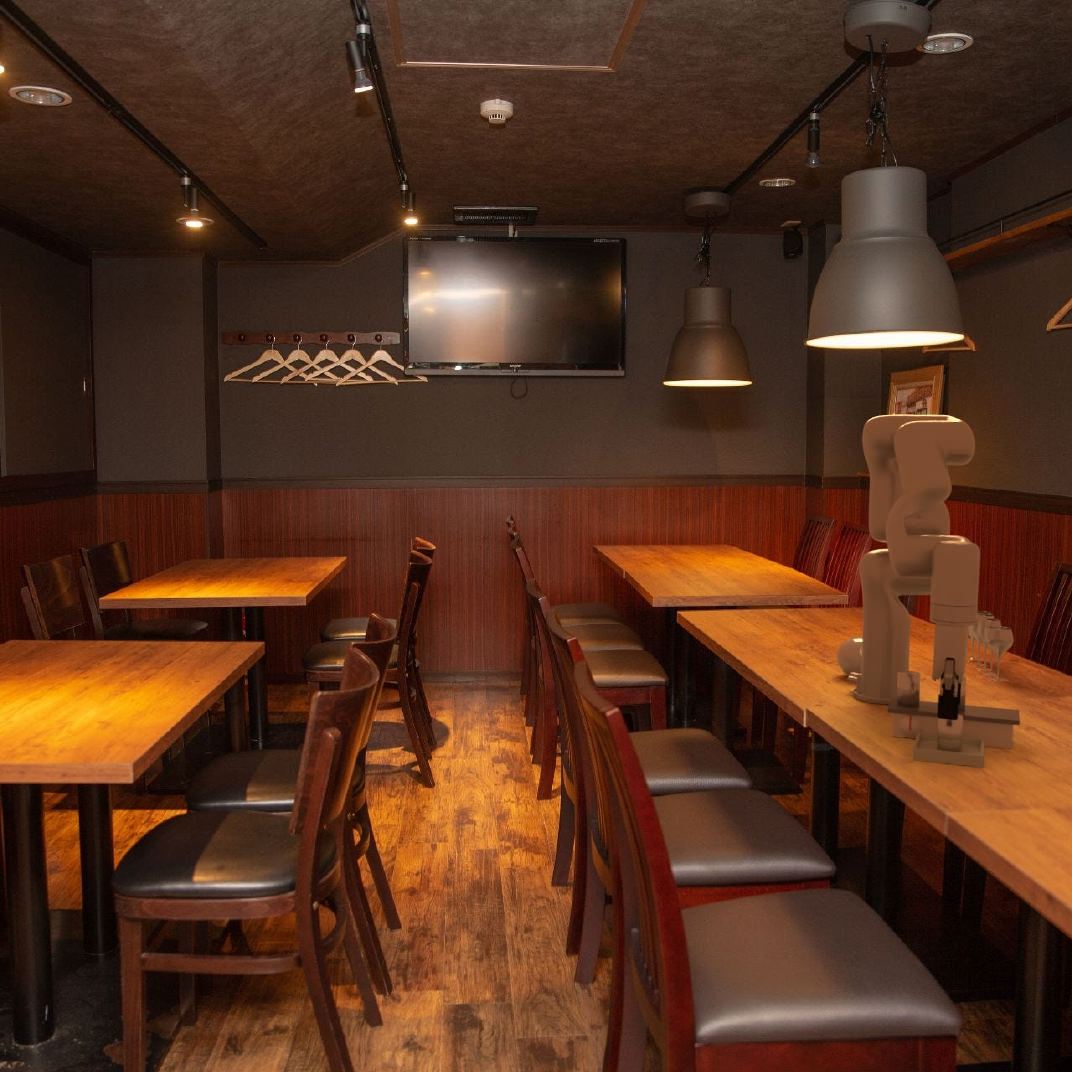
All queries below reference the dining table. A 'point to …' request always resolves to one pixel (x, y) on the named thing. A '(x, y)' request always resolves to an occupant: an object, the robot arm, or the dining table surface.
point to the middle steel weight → (962, 695)
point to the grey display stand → (976, 722)
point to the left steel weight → (908, 688)
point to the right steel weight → (950, 734)
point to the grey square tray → (928, 751)
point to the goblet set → (990, 639)
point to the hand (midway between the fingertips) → (948, 711)
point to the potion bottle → (850, 655)
